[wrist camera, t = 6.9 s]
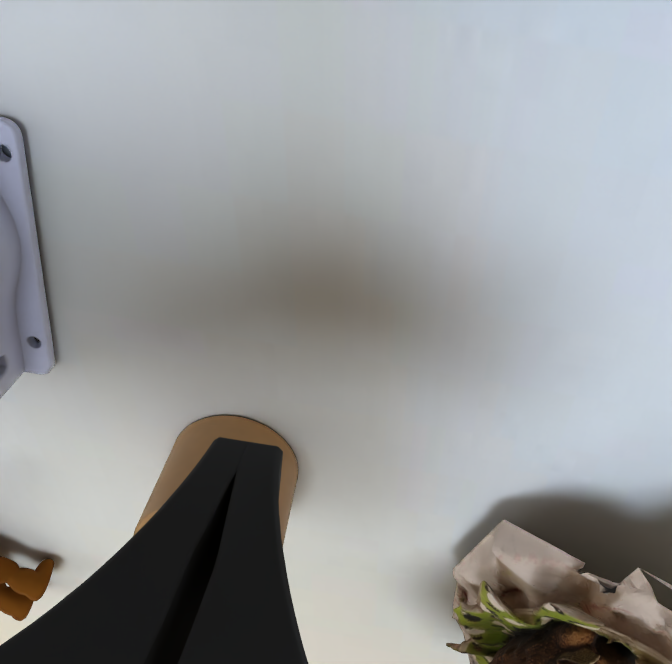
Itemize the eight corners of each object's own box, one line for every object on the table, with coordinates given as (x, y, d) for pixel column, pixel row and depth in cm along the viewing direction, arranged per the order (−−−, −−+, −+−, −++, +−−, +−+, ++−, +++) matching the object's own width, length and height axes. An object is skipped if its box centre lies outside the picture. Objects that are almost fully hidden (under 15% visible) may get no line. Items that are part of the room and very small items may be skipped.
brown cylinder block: (292, 516, 28) (272, 612, 24) (174, 495, 28) (135, 588, 24) (304, 426, 25) (283, 519, 21) (173, 404, 25) (128, 493, 21)
